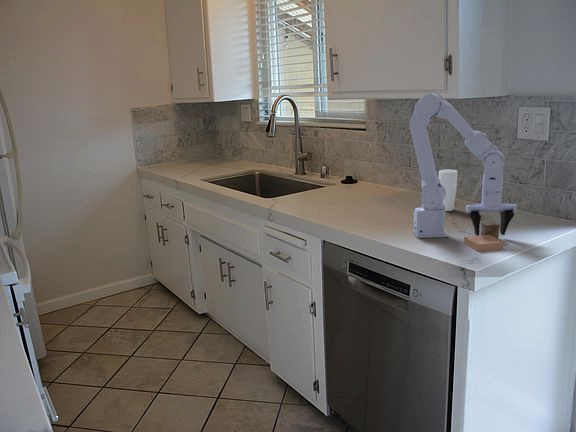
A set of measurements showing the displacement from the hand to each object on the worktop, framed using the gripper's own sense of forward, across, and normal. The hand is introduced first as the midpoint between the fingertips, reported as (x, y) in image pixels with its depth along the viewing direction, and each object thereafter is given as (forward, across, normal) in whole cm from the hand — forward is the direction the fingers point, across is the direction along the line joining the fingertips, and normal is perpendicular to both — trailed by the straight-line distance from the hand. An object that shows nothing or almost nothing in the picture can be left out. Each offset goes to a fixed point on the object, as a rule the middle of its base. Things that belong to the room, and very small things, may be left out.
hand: (489, 234), depth 158 cm
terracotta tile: (+2, -4, -7) cm, 8 cm away
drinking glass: (+2, -4, +38) cm, 38 cm away
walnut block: (+2, 0, 0) cm, 2 cm away
